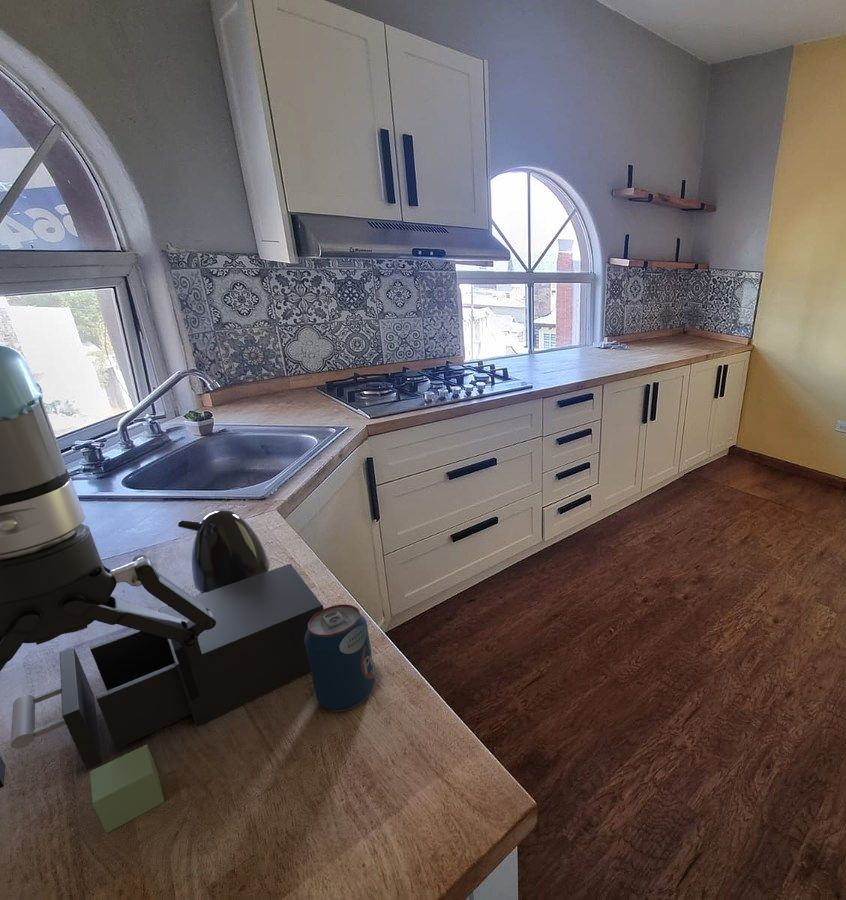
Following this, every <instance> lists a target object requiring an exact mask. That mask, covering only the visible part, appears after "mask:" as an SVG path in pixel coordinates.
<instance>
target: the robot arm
mask: <svg viewBox="0 0 846 900" xmlns="http://www.w3.org/2000/svg"><path fill="white" fill-rule="evenodd" d="M43 397H44V396H43V390H42V388H41V386H40V384H39V383H38V382H37V381H36V380H35V378H34V375H33V373H32V371H31V370H30V367H29V365H28V363H27V361H26V359H25V357H24V356H23V354H22V353H21V352H19V351H18V350H17V349H15V348H13V347H10V346H7V345H3V344H0V672H1V671H2V670H3V669H4V667H5V666H6V665H7V663H8V662H11V660H12V659H13V658H14V656H15V655H16V654H17V652H18V651H19V649H20V648H22V645H23V644H36V646H37V645H41V644H44V643H47V642H50V641H52V640H54V639H55V638H58V637H59V636H61V635H66V634H71V633H76V632H80V631H82V630H85V629H88V628H89V627H88V626H89V625H91V624H92V623H94V622H99V623H103V624H105V625H110V626H115V625H118V626H122V627H125V628H129V629H133V630H139V631H142V632H146V633H149V634H153V635H156V636H160V637H163V638H167V639H170V640H171V642H172V645H173V648H174V651H175V654H176V657H177V660H178V663H179V666H180V669H181V672H182V675H183V678H184V681H185V684H186V687H187V690H188V693H189V696H190V699H191V701H192V700H194V699H196V698H199V697H200V695H199V692H198V689H197V686H196V683H195V680H194V677H193V673H192V670H191V668H192V667H194V666H197V665H199V664H201V663H202V662H203V656H202V653H201V649H200V646H199V643H198V636H199V635H200V634H201V633H202V632H203V631H205V630H210V629H212V628H214V627H215V625H216V620H215V618H214V616H213V614H212V611H211V610H210V609H209V608H208V607H206V606H205V605H203V604H202V603H201V602H199V601H198V600H196V599H195V598H193V597H194V596H192V595H190V593H188V592H186V591H185V590H183V589H182V588H181V587H179V586H178V585H177V584H175V583H174V582H172V581H171V580H170V579H168V578H167V577H165V576H164V575H162V573H159V572H158V571H157V570H156V568H155V565H154V564H153V562H152V560H151V558H150V556H149V555H148V554H147V555H146V554H138V555H136V556H135V557H134V558H133V559H132V562H130V563H127V564H125V565H122V566H120V567H119V566H118V567H117V568H114V569H110V568H108V567H106V566H105V565H104V563H103V562H102V559H101V557H100V553H99V550H98V548H97V545H96V543H95V540H94V537H93V535H92V532H91V529H90V527H89V526H88V525H86V524H84V521H85V519H86V515H85V512H84V509H83V506H82V504H81V501H80V499H79V495H78V493H77V491H76V488H75V485H74V482H73V479H72V476H70V474H69V471H68V468H67V465H66V462H65V460H64V456H63V454H62V451H61V449H60V446H59V445H60V444H59V443H58V440H57V437H56V434H55V431H54V428H53V426H52V424H51V421H50V418H49V415H48V411H47V409H46V407H45V403H44V401H43ZM118 583H127V584H128V585H129V586H131V587H137V588H138V587H141V586H142V587H143V588H144V590H146V592H147V593H149V594H150V595H151V596H153V597H154V598H156V599H157V600H159V601H160V602H161V603H163V604H165V605H166V606H169V607H171V608H172V609H174V610H175V611H177V612H178V613H180V614H181V615H183V616H184V617H186V618H187V619H189V621H186V620H183V619H180V618H177V617H174V616H171V615H167V614H164V613H161V612H159V611H158V610H155V609H151V608H150V607H146V606H143V605H140V604H136V603H133V602H130V601H128V600H125V599H123V598H122V597H121V596H118V595H115V594H113V592H114V590H115V589H116V587H117V584H118ZM5 778H6V763H5V762H4V760H3V757H2V756H1V755H0V789H2V788H4V787H5Z"/></svg>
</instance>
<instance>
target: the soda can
mask: <svg viewBox="0 0 846 900" xmlns="http://www.w3.org/2000/svg"><path fill="white" fill-rule="evenodd" d="M304 640H305V645H306V650H307V655H308V660H309V664H310V669H311V672H310V674H311V678H312V679H311V680H312V683H313V688H314V692H315V697H316V698H315V699H316V700H317V702H318V703H319V704H320V705H321V706H322V707H324V708H326V709H328V710H330V711H332V712H346V711H349V710H352V709H354V708H356V707H358V706H360V705H361V704H362V703H363V702H364V701H366V700H367V698H368V696H369V695H370V694H371V692H372V690H373V688H374V686H375V684H376V672H375V671H376V670H375V666H374V658H373V653H372V648H371V647H372V646H371V640H370V635H369V628H368V622H367V619H366V618H365V617H364V615H363V614H362V613H361V612H360V610H359V608H358V607H356V606H355V605H352V604H346V603H345V604H344V603H343V604H342V603H341V604H335V605H331V606H328V607H325V608H324V609H323V610H321V611H319V612H318V613H316V614H315V615H314V616H313V617H312V618H311V619H310V621H309V623H308V630H307V632H306V634H305V639H304Z"/></svg>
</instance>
